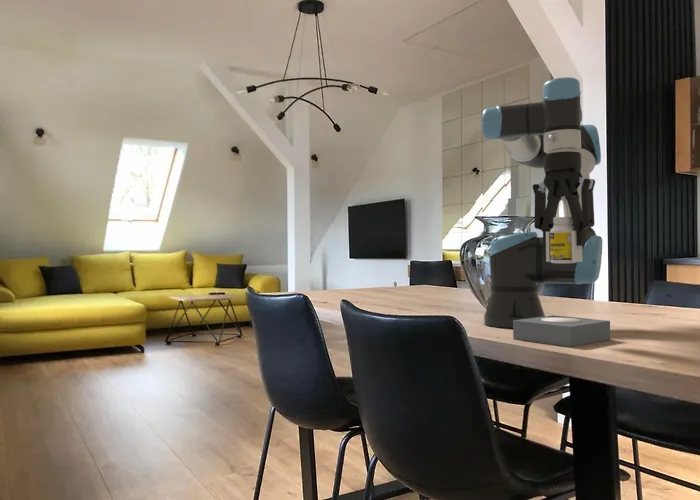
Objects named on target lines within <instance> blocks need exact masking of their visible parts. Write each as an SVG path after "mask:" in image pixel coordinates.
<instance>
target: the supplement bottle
mask: <svg viewBox="0 0 700 500" xmlns="http://www.w3.org/2000/svg"><path fill="white" fill-rule="evenodd" d="M553 223H554V224H555V226H554V228H552V229H551V230H550V252H551V263H576V262H572V242H571V231H576V230H573V228H575V227H573V226H572V224H573V220H572V217H554V218H553Z"/></svg>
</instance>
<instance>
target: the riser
mask: <svg viewBox="0 0 700 500" xmlns="http://www.w3.org/2000/svg"><path fill="white" fill-rule="evenodd" d="M512 331H513V333H512V337H513V338H512V339H513V340H519V341H524V342H533V343H539V344H540V343H541V344H545V345H553V346H559V347H566V348H567V347H568V348H572V347H573V348H574V347H579V346H585V345H588V344H589V345H590V344H594V343H595V344H596V343H599V342H606V341H611V320H607V319H606V320H605V319H596V318H594V319H593V318H586V317H585V318H584V317H574V316H573V317H572V316H566V315H565V316H563V315H562V316H561V315H545V316H544V317H536V318H528V319H521V320H513V328H512Z"/></svg>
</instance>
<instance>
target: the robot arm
mask: <svg viewBox="0 0 700 500" xmlns="http://www.w3.org/2000/svg"><path fill="white" fill-rule="evenodd" d="M580 84H581V83H580V81H579V80H578V79H577V78H575V77H566V76H565V77H558V78H553V79H550V80H548V81H546V82H545V83H544V84H543V86H542V96H541V100H542V101H537V102H530V103H519V104H511V105H509V104H508V105H500V106H499V105H496V106H493V107H487V108H485V109H484V110H483V111H482V114H481V129H482V134H483V137H484V139H485V140H495V141H496V140H501V142H502V143H503V144H504V145H505V146H506V152H507V154H508V156H509V157H510V158H511V159H512V160H513V161H515V162H516V163H518V164H520V165H522V166H526V167H529V168H533V169H534V168H535V169H543V171H544V174H545V176H544V178H543V181H542V182H540V183H534V184H532V190H533V193H534V218H533V219H534V222H533V223H534V228H535V229H537V230H540V231H542V236H541V237H540V236H539V235H538V233H537V231H528V232H521V233H514V234H513V233H512V234H507V235H502V236H501V235H500V236H495V237H494V238H492V240H491V242H490V247H489V248H490V249H489V255H488V256H489V268H490V269H489V272H490V277H489V278H490V296H489V299H488V302H487V306H486V311H485V313H484V315H483V323H484V325H486V326H488V327H497V328H508V329H513V320H521V319H528V318H536V317H544V316H546V314H544V309H543V305H542V303H541V300H540V297H539V294H538V293H539V291H538V289H539V288H538V285H539V284H569V285H573V284H574V285H583V284H593V283H595V282H597V281H598V279H599V276H600V273H601V267H602V255H603V238H602V236H600V235H597V234H596V231H595V230H594V228H593V227H594V226H595V207H594V206H595V205H594V189H595V184H596V180H595V179H594V178H590V174H591V173H592V172H593V171H594V169H595V166H597V165H600V163H602V161H601V160H602V154H601V151H602V150H601V145H600V136H599V132H598V128H597V126H595V125H594V124H581V123H582V121H583V110H582V106H581V105H582V104H581V94H582V91H581V85H580ZM547 191H548V192H547ZM546 192H547V193H546ZM554 217H572V220H573V224H572V226H573V227H575V228H573V230H576V231H571V242H572V262H576V263H551V252H550V230H551V229H552V228H554V226H555V224H554V223H553V218H554Z"/></svg>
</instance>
